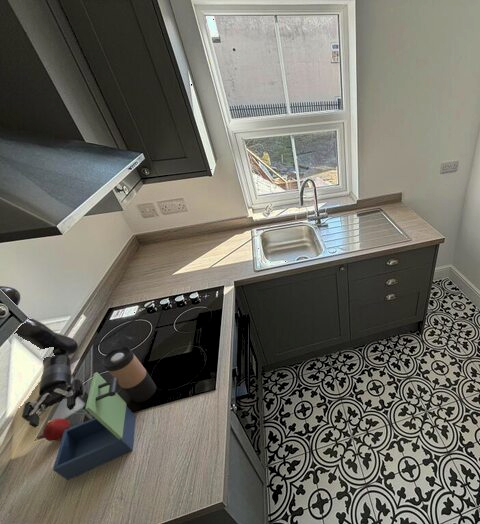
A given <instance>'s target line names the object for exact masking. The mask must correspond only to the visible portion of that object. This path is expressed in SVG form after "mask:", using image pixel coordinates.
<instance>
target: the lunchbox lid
mask: <svg viewBox="0 0 480 524" xmlns="http://www.w3.org/2000/svg"><path fill="white" fill-rule="evenodd" d="M117 389H118V378H113V377H112V378H111V379H110V380H108V381H106V380H105V379H104V378H103V377H102V376H101V374H99V372H97V371H96V372H94V373H93V375H92V380H91V383H90V388H89V391H88V396H87V401H86V404H85V410H86V411H87V412H88V413H89V414H90V415H91V416H92V417H94V418H96V419H97V420H98V421H99V422H100V423H101V424H102V425H104V426H105V427H106V428H107V429H108V430H109V431H110V432H111V433H112V434H113V435H115V436H116V437H117V438H118V439H121V438H122V435H123V428H124V420H125V412H126V406H127V402H126V401H125V400H124V399H123V398H122V396H120V395H119V394H118V392H117Z"/></svg>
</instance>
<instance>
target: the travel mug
mask: <svg viewBox="0 0 480 524" xmlns="http://www.w3.org/2000/svg"><path fill="white" fill-rule="evenodd" d="M101 363H102V366H103V367H104V368H105V370H106V371H107V372H108V373H109V374H110V375H111V377H112V378H118V383H117V385H119V386H120V387H121V388H122V390H123V391H124V392H125V393H126V394H127V395H128V396H129V397H130V398H131V399H132V400H133V401H134V402H136V403H143V402H145V401H147V400H149V399H150V398H152V397H153V395H155V393H156V391H157V385H156V383H155V382H154V380H153V378H152V377H151V375H150V374H149V373H148V370H147V369H146V368H145V367H144V366H143V364H142V363H141V361H140V360H139V359H138V358H137V356H136V355H135V353H134V352H133V351H132V350H131V348H130V347H128V346H123V347H120V348H114V349H112V350H111V351H109V352H107V354H106V355H105V356H104V357H103V359H102V361H101Z"/></svg>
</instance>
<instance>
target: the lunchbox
mask: <svg viewBox="0 0 480 524" xmlns="http://www.w3.org/2000/svg"><path fill="white" fill-rule="evenodd" d="M136 419H137V416H136V415H135V413H134V412H133V411H132V410H131V409H130V408H129V407H128V406H127V405H126V412H125V420H124V428H123V435H122V438H121V439H118V438H117V437H116V436H115V435H113V434H112V433H111V432H110V431H109V430H108V429H107V428H106V427H105V426H104V425H102V424H101V423H100V422H99V421H98V420H97V419H96V418H95V417H94V418H91V419H89V420H86V421H83V422H81V423H78V424H76V425H74V426H70V428H69V429H66V430H64V433H63V437H62V438H61V439H60V443H59V444H60V445H59V447H58V451H57V454H56V458H55V461H54V465H53V468H52V471H53V472H55V473H56V474H58V475H59V476H61V477H62V478H63V479H65V480H66V481H70V480H72V479H74V478H76V477H78V476H80V475H82V474H85V473H87V472H89V471H91V470H94V469H96V468H98V467H100V466H102V465H104V464H107V463H109V462H111V461H113V460H116V459H118V458H119V457H122V456H124V455H126V454H128V453H131V452H133V450H134V441H135V429H136Z"/></svg>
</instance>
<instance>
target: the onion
mask: <svg viewBox="0 0 480 524" xmlns="http://www.w3.org/2000/svg"><path fill="white" fill-rule="evenodd" d="M69 428H71V422H70V421H69V419H65V418H56V419H53V420H48V421H47V423H46V425H45V426H44V428H43V430H42V436H43V437H44V439H45V440H46V441H49V442H56V441H59V440H62V437H63V433H64V430H66V429H69Z"/></svg>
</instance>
